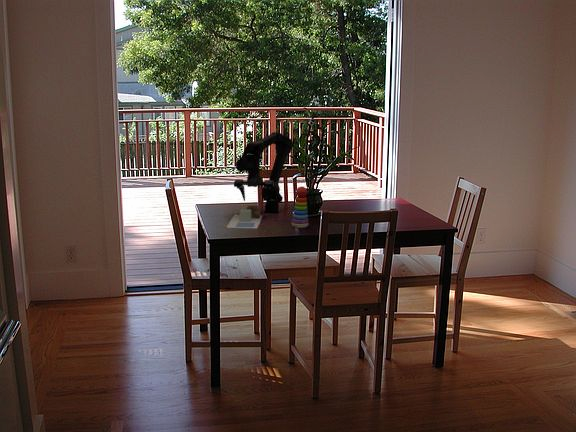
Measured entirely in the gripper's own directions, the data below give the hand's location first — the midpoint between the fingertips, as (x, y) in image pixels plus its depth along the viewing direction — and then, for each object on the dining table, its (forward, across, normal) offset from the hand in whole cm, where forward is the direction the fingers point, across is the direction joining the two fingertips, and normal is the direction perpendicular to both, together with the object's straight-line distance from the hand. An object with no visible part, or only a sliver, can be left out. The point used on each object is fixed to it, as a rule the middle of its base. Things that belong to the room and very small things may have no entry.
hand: (253, 201), depth 332 cm
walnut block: (+8, 0, 0) cm, 8 cm away
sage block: (+8, -3, -8) cm, 12 cm away
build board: (+9, -3, -10) cm, 13 cm away
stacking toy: (+9, +23, -13) cm, 28 cm away
